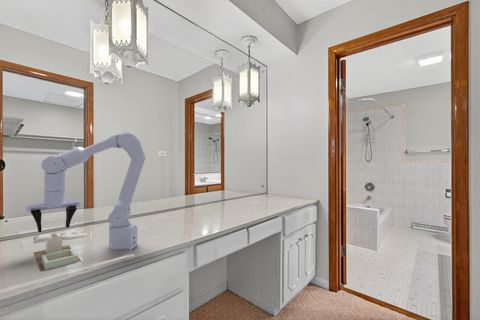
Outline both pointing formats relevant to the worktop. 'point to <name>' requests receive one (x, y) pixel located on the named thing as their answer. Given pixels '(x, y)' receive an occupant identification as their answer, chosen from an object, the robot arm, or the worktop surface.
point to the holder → (59, 258)
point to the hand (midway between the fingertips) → (54, 229)
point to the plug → (53, 243)
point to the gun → (64, 235)
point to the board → (39, 253)
